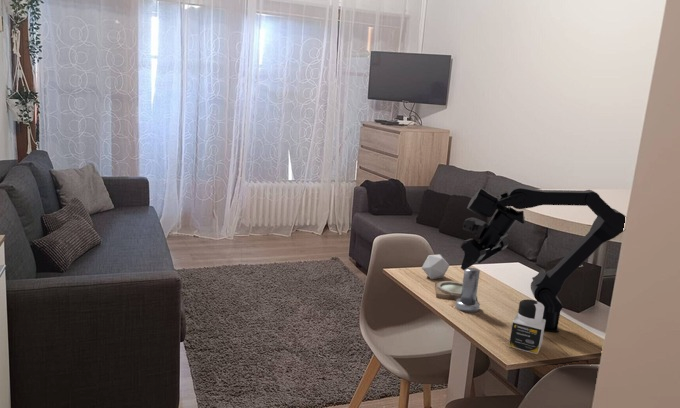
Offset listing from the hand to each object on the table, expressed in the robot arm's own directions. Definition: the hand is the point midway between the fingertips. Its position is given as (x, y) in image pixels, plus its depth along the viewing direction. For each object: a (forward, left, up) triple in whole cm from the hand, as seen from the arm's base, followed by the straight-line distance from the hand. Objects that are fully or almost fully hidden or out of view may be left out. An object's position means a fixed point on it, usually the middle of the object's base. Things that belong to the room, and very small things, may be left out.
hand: (470, 265), depth 163 cm
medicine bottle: (-14, +21, -14) cm, 29 cm away
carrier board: (+2, -13, -14) cm, 19 cm away
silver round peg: (-1, -1, -14) cm, 14 cm away
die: (+8, -27, -14) cm, 32 cm away
